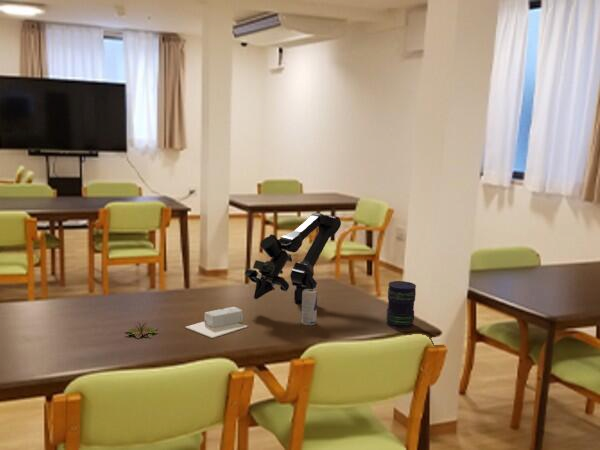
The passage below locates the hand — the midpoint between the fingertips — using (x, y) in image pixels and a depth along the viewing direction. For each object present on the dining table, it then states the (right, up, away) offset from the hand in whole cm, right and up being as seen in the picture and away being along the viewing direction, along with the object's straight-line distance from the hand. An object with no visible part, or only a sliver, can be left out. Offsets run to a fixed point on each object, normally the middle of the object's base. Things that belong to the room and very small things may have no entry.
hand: (255, 298), depth 220 cm
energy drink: (+20, -8, -5) cm, 22 cm away
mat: (-12, -9, -12) cm, 19 cm away
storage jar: (+53, -9, -3) cm, 53 cm away
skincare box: (-6, -5, -5) cm, 9 cm away
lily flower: (-36, -10, -20) cm, 43 cm away
